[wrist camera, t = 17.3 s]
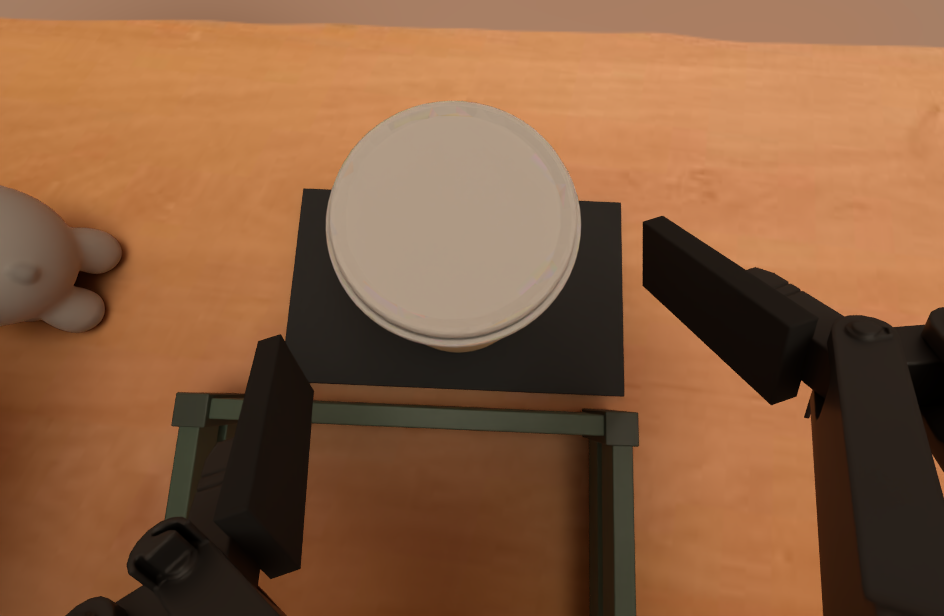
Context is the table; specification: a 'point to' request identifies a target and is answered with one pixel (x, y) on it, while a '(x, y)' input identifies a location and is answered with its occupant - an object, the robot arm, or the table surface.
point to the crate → (606, 429)
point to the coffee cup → (453, 225)
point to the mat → (491, 368)
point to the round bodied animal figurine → (49, 265)
